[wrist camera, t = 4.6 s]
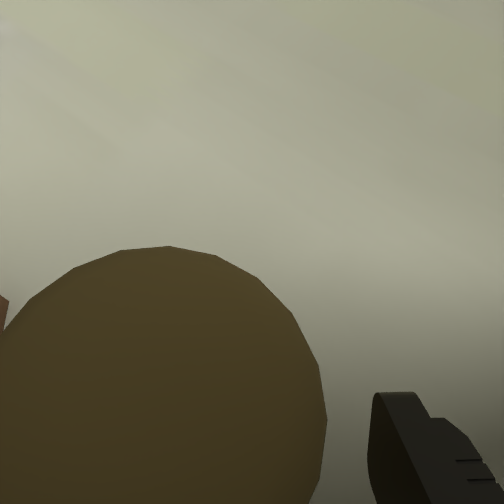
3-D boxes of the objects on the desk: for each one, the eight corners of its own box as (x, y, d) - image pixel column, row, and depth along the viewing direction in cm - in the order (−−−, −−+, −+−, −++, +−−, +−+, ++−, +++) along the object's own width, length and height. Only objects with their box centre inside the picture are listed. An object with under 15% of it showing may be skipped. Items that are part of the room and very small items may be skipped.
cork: (167, 597, 14) (-33, 922, 4) (81, 416, 16) (-189, 322, 6) (329, 473, 15) (491, 476, 5) (231, 323, 17) (216, 124, 7)
